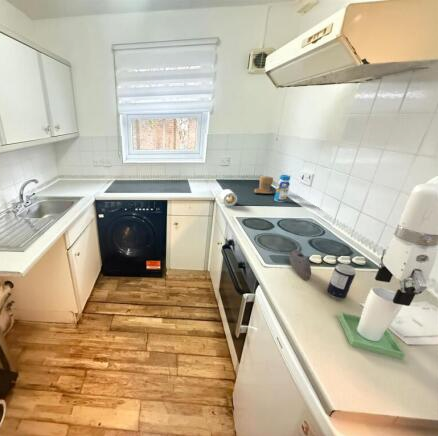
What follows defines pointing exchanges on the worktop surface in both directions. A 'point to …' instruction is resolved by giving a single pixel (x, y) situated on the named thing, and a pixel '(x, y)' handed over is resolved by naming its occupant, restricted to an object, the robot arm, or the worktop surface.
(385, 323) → the white cup
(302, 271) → the perforated stone tool
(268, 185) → the brown cylinder on base
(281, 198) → the beverage bottle
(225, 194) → the toilet paper
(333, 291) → the beverage can
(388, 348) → the green tray
